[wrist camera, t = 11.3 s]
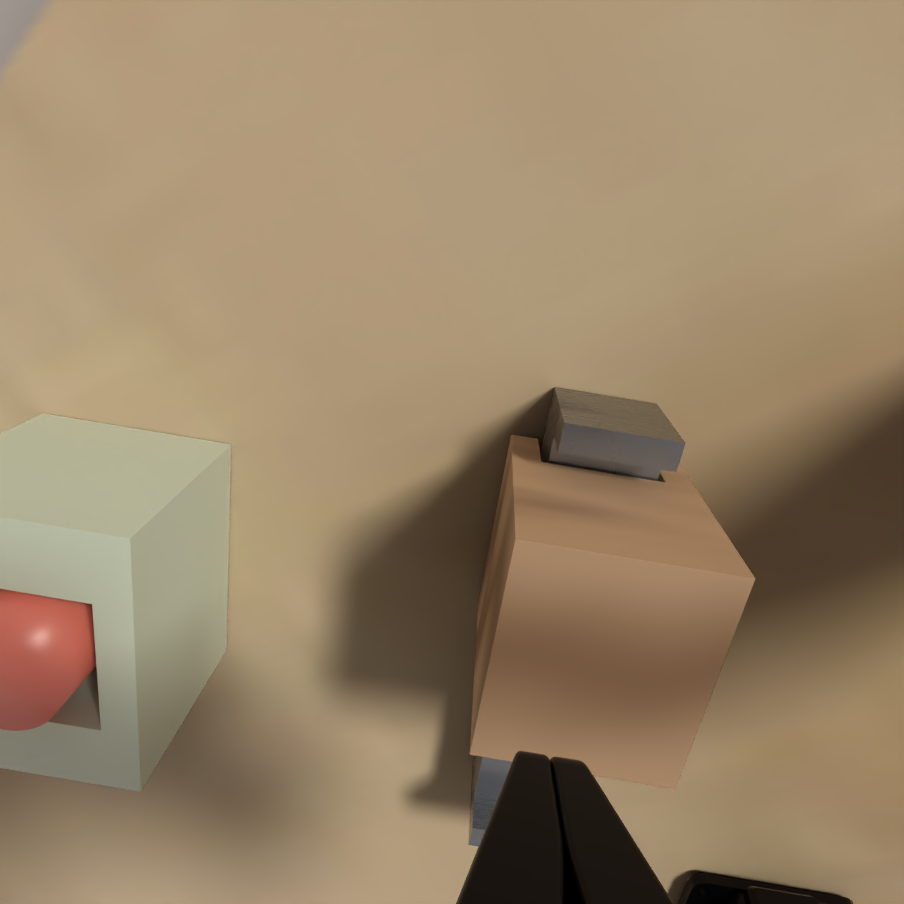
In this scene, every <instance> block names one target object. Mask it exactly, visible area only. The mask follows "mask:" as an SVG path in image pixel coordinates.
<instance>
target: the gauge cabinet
mask: <svg viewBox="0 0 904 904" xmlns="http://www.w3.org/2000/svg"><path fill="white" fill-rule="evenodd" d="M230 478H231V444H225V443H219V442H213V441H207V440H201V439H195V438H189V437H183V436H177V435H171V434H165V433H159V432H153V431H147V430H141V429H135V428H129V427H123V426H117V425H111V424H105V423H99V422H93V421H87V420H81V419H74V418H68V417H62V416H56V415H50V414H44V413H43V414H41V415H39V416H36V417H34V418H32V419H30V420H28V421H26V422H24V423H22V424H20V425H18V426H16V427H14V428H11V429H9V430H7V431H5V432H3V433H1V434H0V589H5V590H11V591H17V592H23V593H29V594H35V595H41V596H47V597H53V598H58V599H64V600H70V601H76V602H82V603H88V604H92V609H93V623H94V638H95V652H96V667H95V668H94V669H93V671H92V672H91V673H90V674H89V675H88V676H87V678H86V679H85V680H84V681H83V682H82V683H81V685H80V686H79V687H78V688H77V689H76V690H75V692H74V693H73V694H72V695H71V696H70V697H69V699H68V700H67V701H66V702H65V703H64V704H63V706H62V707H61V708H60V709H59V710H58V711H57V713H56V714H55V715H54V716H53V717H52V718H51V719H50V720H49V721H48V722H46V723H45V724H43V725H41V726H39V727H36V728H34V729H29V730H22V731H10V730H2V729H0V768H3V769H8V770H14V771H20V772H26V773H32V774H38V775H43V776H49V777H55V778H61V779H67V780H73V781H78V782H84V783H90V784H96V785H102V786H108V787H113V788H119V789H125V790H131V791H137V792H141V791H142V789H143V788H144V786H145V784H146V783H147V781H148V779H149V778H150V776H151V774H152V773H153V771H154V769H155V768H156V766H157V764H158V763H159V761H160V760H161V758H162V756H163V755H164V753H165V751H166V750H167V748H168V746H169V745H170V743H171V741H172V740H173V738H174V736H175V735H176V733H177V731H178V730H179V728H180V726H181V725H182V723H183V721H184V720H185V718H186V716H187V715H188V713H189V711H190V710H191V708H192V706H193V705H194V703H195V701H196V700H197V698H198V696H199V695H200V693H201V691H202V690H203V688H204V686H205V685H206V683H207V681H208V680H209V678H210V676H211V675H212V673H213V671H214V670H215V668H216V666H217V665H218V663H219V661H220V660H221V658H222V656H223V655H224V653H225V651H226V649H227V607H228V564H229V521H230Z"/></svg>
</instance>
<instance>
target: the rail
mask: <svg viewBox="0 0 904 904" xmlns="http://www.w3.org/2000/svg"><path fill="white" fill-rule="evenodd" d="M684 446H685V442H684V440H683V439H682V438H681V436H680V435H679V434H678V432H677V431H676V429H675V428H674V427H673V425H672V424H671V423H670V421H669V420H668V419H667V417H666V416H665V415H664V413H663V412H662V410H661V409H660V408H659V406H658V405H657V404H654V403H648V402H642V401H636V400H630V399H624V398H618V397H612V396H606V395H600V394H593V393H587V392H581V391H575V390H569V389H563V388H557V387H555V388H554V392H553V397H552V402H551V406H550V411H549V416H548V420H547V425H546V429H545V434H544V439H543V443H542V448H541V452H540V456H541V462H545V463H551V464H557V465H563V466H569V467H575V468H581V469H587V470H593V471H599V472H605V473H611V474H617V475H623V476H629V477H635V478H641V479H647V480H653V481H658V477H659V474H660V470H665V471H671V472H677V469H678V465H679V462H680V459H681V456H682V452H683V449H684ZM511 764H512V762H511V761H505V760H499V759H493V758H487V757H481V756H475V757H474V762H473V766H472V786H471V806H470V826H469V845H473V846H479V845H480V842H481V840H482V837H483V835H484V832H485V830H486V827H487V825H488V822H489V819H490V817H491V814H492V812H493V809H494V807H495V804H496V802H497V799H498V797H499V794H500V792H501V789H502V787H503V784H504V782H505V779H506V777H507V774H508V771H509V769H510V766H511Z"/></svg>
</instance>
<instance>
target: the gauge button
mask: <svg viewBox="0 0 904 904" xmlns="http://www.w3.org/2000/svg"><path fill="white" fill-rule="evenodd" d="M95 667H96V652H95V638H94V623H93V609H92V604H88V603H82V602H76V601H70V600H64V599H58V598H53V597H47V596H41V595H35V594H29V593H23V592H17V591H11V590H5V589H0V729H2V730H10V731H22V730H29V729H34V728H36V727H39V726H41V725H43V724H45V723H46V722H48V721H49V720H50V719H51V718H52V717H53V716H54V715H55V714H56V713H57V711H58V710H59V709H60V708H61V707H62V706H63V704H64V703H65V702H66V701H67V700H68V699H69V697H70V696H71V695H72V694H73V693H74V692H75V690H76V689H77V688H78V687H79V686H80V685H81V683H82V682H83V681H84V680H85V679H86V678H87V676H88V675H89V674H90V673H91V672H92V671H93V669H94V668H95Z"/></svg>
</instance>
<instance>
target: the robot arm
mask: <svg viewBox="0 0 904 904" xmlns="http://www.w3.org/2000/svg"><path fill="white" fill-rule="evenodd" d="M456 904H673V902H672V900H671V899H670V897H669V896H668V894H667V892H666V891H665V889H664V888H663V886H662V884H661V883H660V881H659V880H658V878H657V876H656V875H655V873H654V872H653V870H652V869H651V867H650V865H649V864H648V862H647V861H646V859H645V857H644V856H643V854H642V853H641V851H640V849H639V848H638V846H637V845H636V843H635V842H634V840H633V838H632V837H631V835H630V834H629V832H628V830H627V829H626V827H625V826H624V824H623V822H622V821H621V819H620V818H619V816H618V814H617V813H616V811H615V810H614V808H613V807H612V805H611V803H610V802H609V800H608V799H607V797H606V795H605V794H604V792H603V791H602V789H601V787H600V786H599V784H598V783H597V781H596V779H595V778H594V776H593V775H592V773H591V772H590V770H589V768H588V767H587V765H586V764H585V763H583V762H582V761H580V760H575V759H569V758H562V757H552V758H551V759H549V758H548V757H547V756H546V755H544V754H538V753H532V752H525V751H518V752H517V753H516V754H515V757H514V759H513V761H512V764H511V766H510V769H509V771H508V774H507V777H506V779H505V782H504V784H503V787H502V789H501V792H500V794H499V797H498V799H497V802H496V804H495V807H494V809H493V812H492V814H491V817H490V819H489V822H488V825H487V827H486V830H485V832H484V835H483V837H482V840H481V842H480V845H479V847H478V850H477V852H476V855H475V857H474V860H473V862H472V865H471V867H470V870H469V873H468V875H467V878H466V880H465V883H464V885H463V888H462V890H461V893H460V895H459V898H458V900H457V903H456ZM679 904H853V902H852V901H851V900H850V899H848V898H845V897H840V896H835V895H829V894H823V893H817V892H811V891H805V890H800V889H794V888H788V887H782V886H776V885H770V884H764V883H759V882H753V881H747V880H741V879H735V878H729V877H724V876H718V875H712V874H706V873H698V874H695V875H693V876H691V877H690V879H689V880H688V882H687V885H686V887H685V890H684V892H683V894H682V897H681V899H680V901H679Z"/></svg>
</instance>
